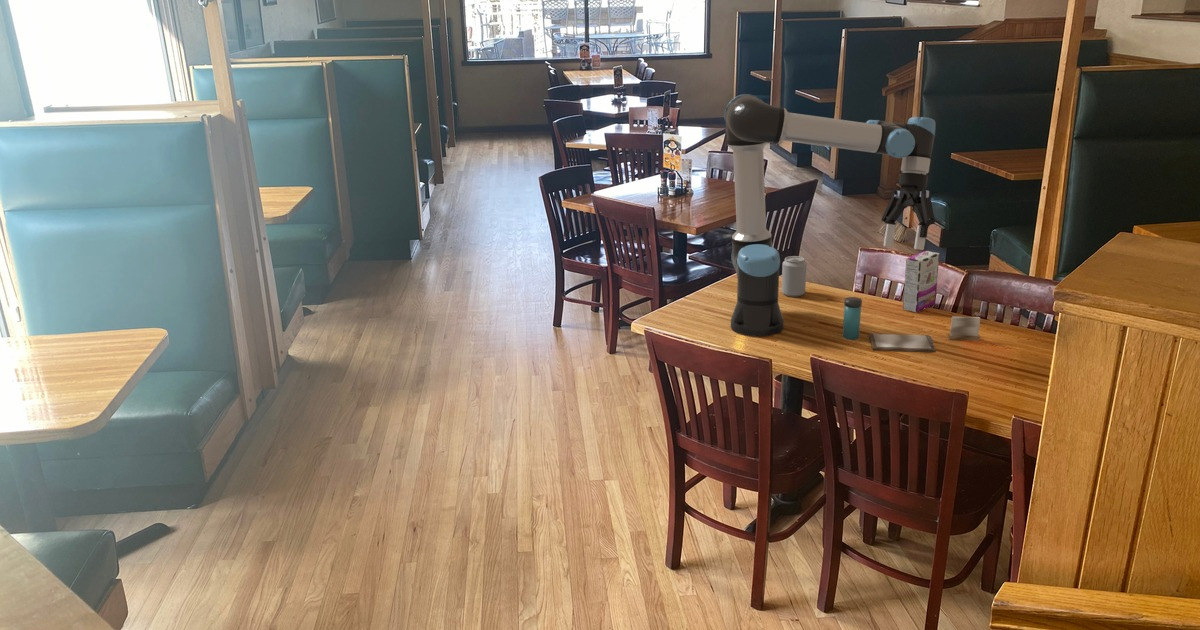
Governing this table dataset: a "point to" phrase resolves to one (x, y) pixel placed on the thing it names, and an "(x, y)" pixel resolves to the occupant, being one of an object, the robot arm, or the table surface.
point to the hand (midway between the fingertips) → (902, 248)
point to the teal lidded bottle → (852, 318)
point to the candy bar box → (920, 281)
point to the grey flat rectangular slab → (902, 342)
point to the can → (794, 276)
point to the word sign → (965, 328)
